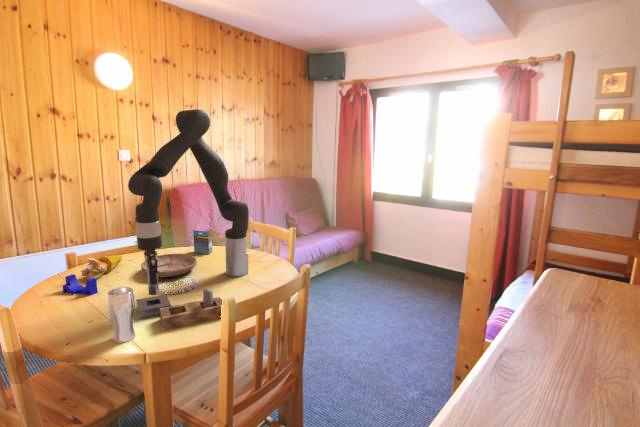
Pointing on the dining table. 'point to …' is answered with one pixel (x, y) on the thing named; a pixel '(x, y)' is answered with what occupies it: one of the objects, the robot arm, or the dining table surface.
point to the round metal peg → (152, 288)
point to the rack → (191, 311)
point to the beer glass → (122, 313)
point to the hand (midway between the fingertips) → (152, 281)
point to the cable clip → (80, 286)
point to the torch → (100, 266)
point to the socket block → (151, 306)
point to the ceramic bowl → (173, 264)
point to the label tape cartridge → (202, 242)
